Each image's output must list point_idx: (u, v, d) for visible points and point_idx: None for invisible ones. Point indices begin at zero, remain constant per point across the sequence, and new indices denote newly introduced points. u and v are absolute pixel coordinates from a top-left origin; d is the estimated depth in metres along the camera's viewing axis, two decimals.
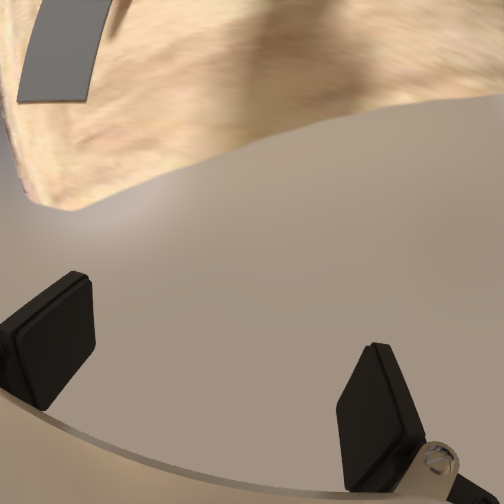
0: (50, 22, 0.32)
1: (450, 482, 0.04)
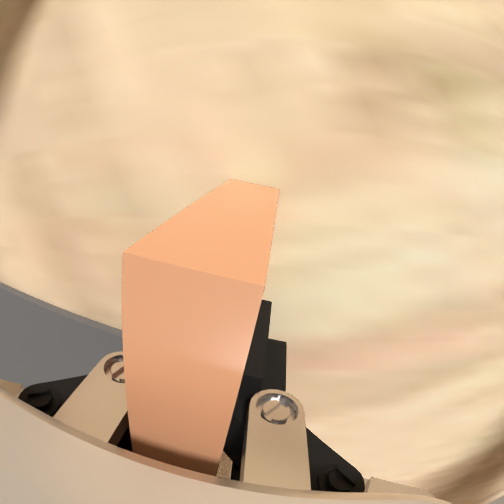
0: None
1: (302, 427, 0.06)
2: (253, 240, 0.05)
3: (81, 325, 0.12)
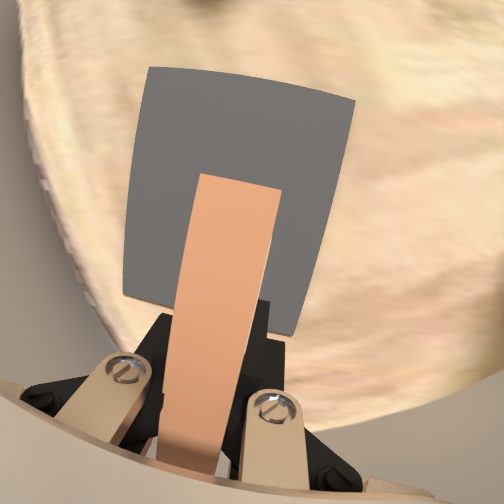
0: (184, 147, 0.23)
1: (300, 427, 0.06)
2: None
3: (311, 91, 0.21)
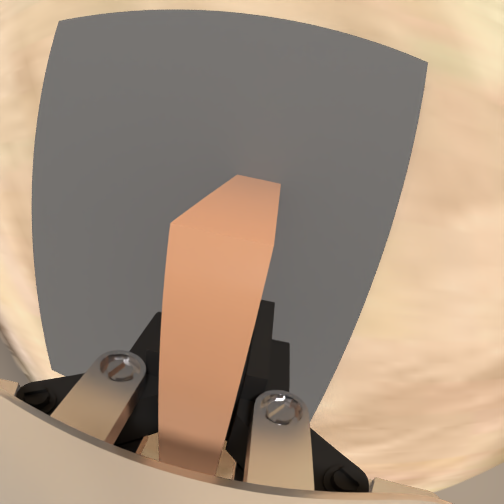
0: (104, 151, 0.11)
1: (306, 428, 0.06)
2: (262, 219, 0.06)
3: (346, 38, 0.09)
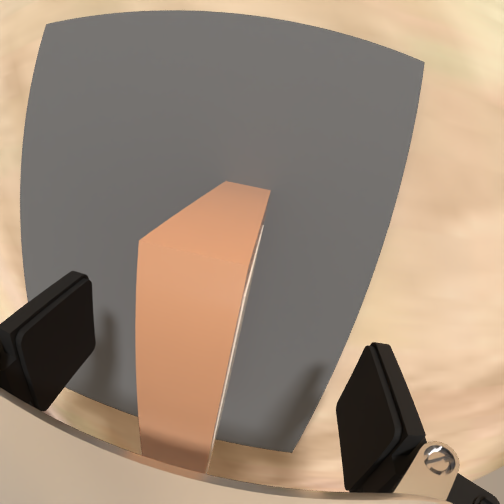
0: (90, 158, 0.11)
1: (450, 482, 0.04)
2: (242, 232, 0.06)
3: (339, 37, 0.09)
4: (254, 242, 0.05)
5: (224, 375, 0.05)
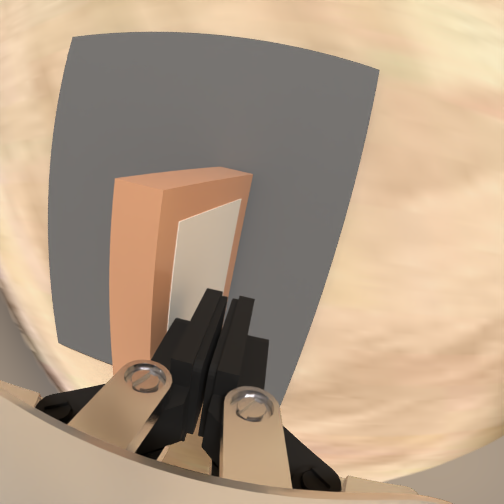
0: (113, 148, 0.14)
1: (278, 423, 0.06)
2: (183, 182, 0.09)
3: (308, 53, 0.12)
4: (184, 186, 0.08)
5: (154, 267, 0.08)
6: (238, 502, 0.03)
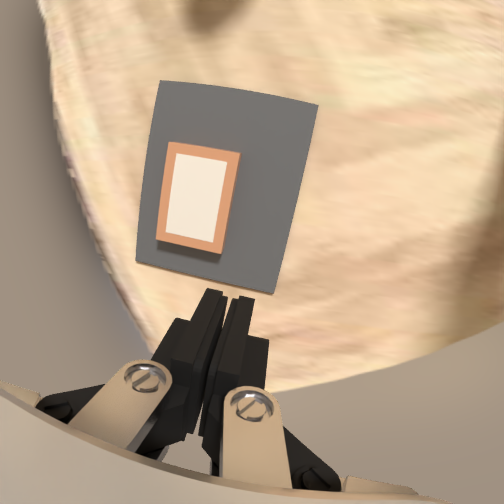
0: (187, 143, 0.30)
1: (278, 423, 0.06)
2: (183, 143, 0.29)
3: (284, 99, 0.28)
4: (178, 143, 0.28)
5: (165, 162, 0.29)
6: (238, 502, 0.03)
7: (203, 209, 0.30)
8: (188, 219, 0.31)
